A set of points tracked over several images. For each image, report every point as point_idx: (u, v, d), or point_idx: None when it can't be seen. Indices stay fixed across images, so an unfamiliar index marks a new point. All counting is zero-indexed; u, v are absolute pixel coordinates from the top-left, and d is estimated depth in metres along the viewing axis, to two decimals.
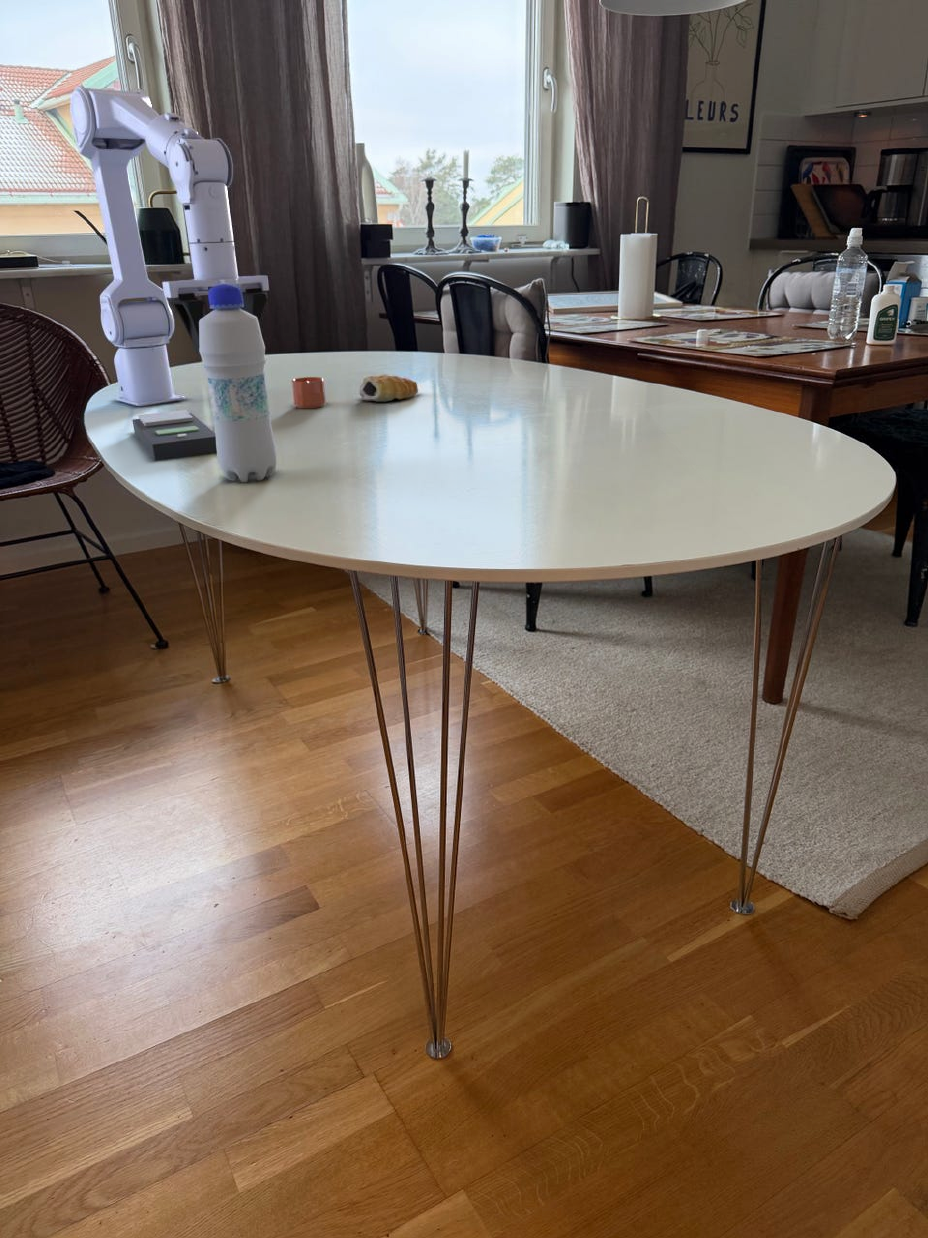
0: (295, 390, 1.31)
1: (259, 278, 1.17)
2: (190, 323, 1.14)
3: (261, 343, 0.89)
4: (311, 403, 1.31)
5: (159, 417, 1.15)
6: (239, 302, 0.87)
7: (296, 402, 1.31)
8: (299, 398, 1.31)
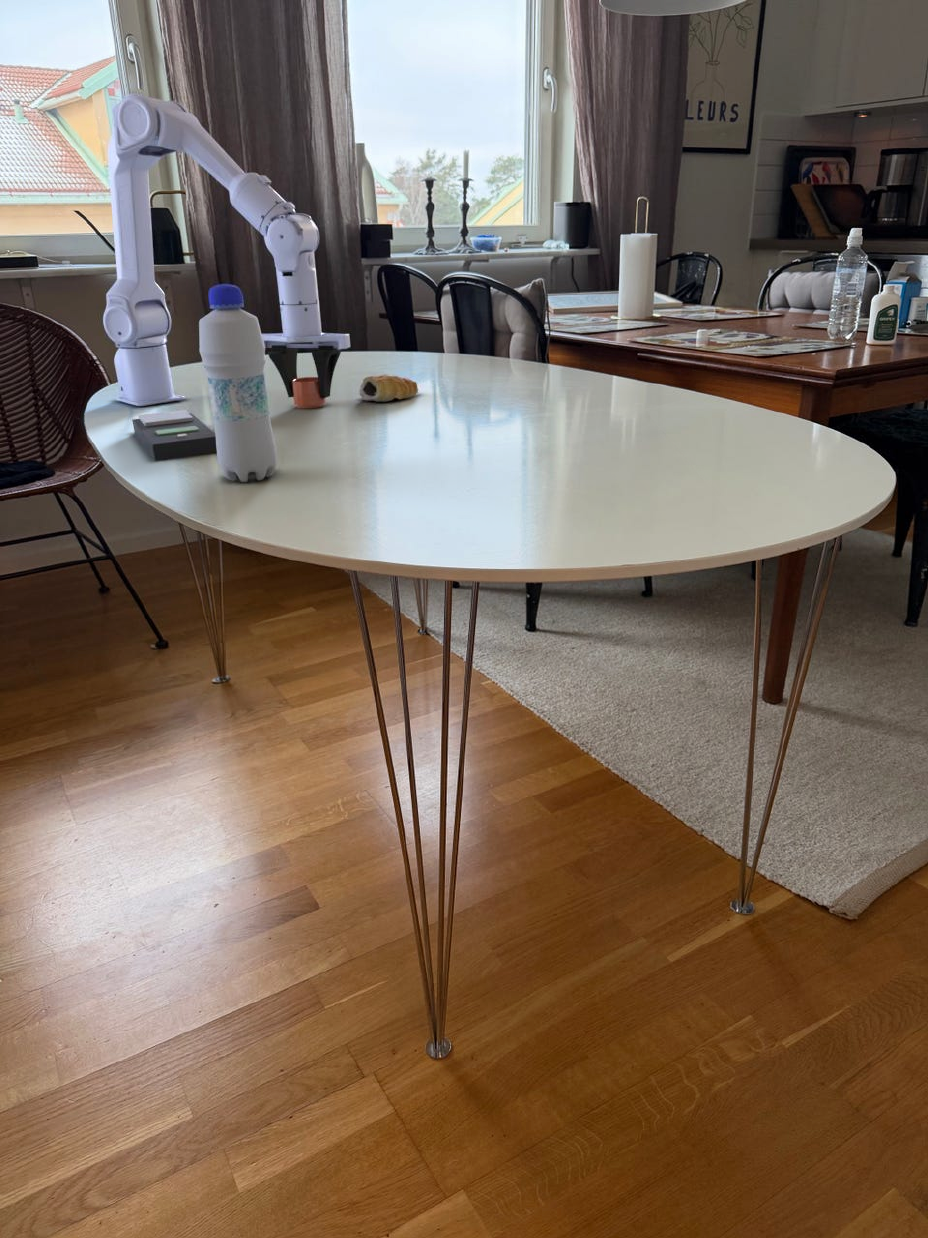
0: (295, 390, 1.31)
1: (334, 337, 1.26)
2: None
3: (261, 343, 0.89)
4: (311, 403, 1.31)
5: (159, 417, 1.15)
6: (239, 302, 0.87)
7: (296, 402, 1.31)
8: (299, 398, 1.31)
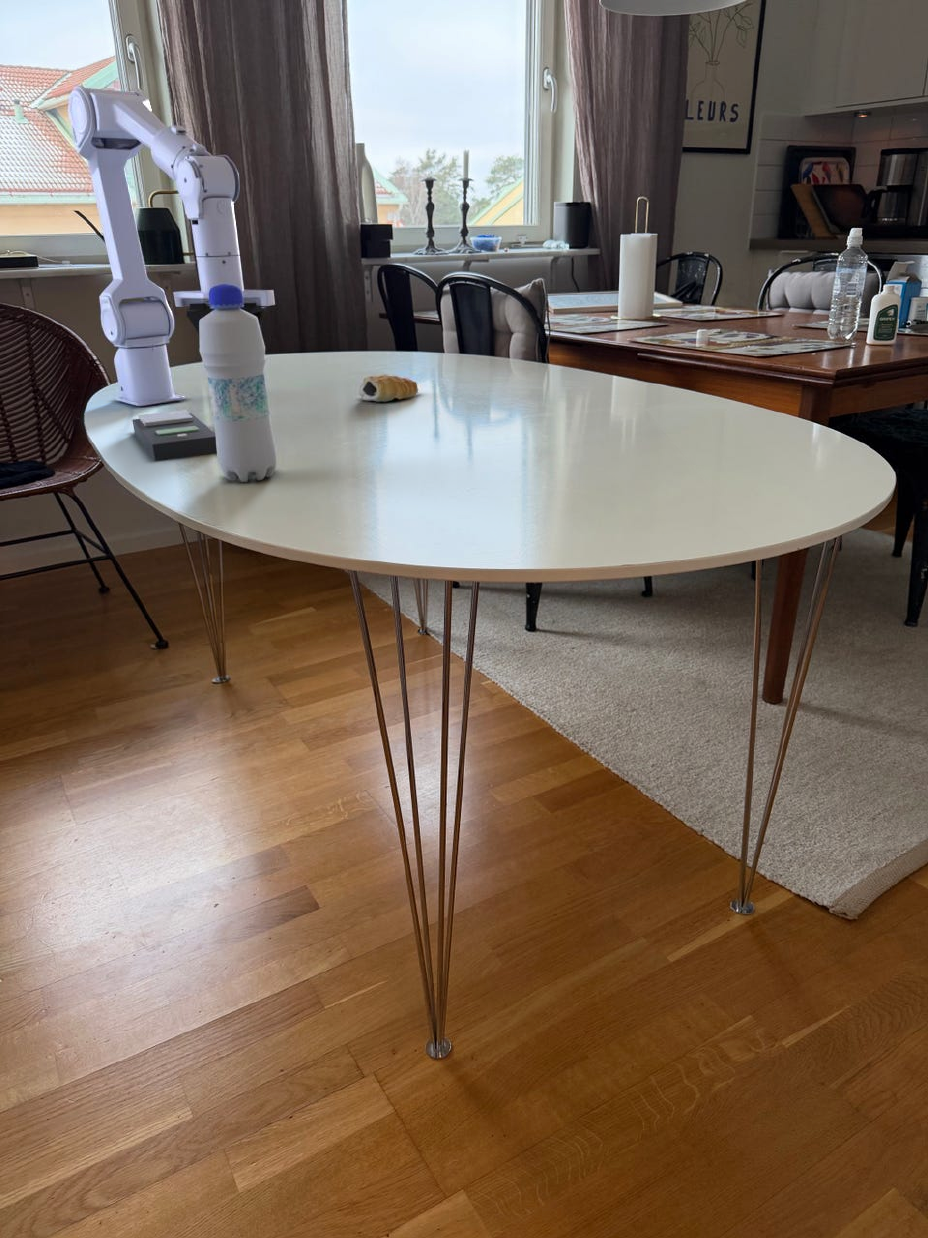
0: None
1: (256, 293, 1.15)
2: None
3: (261, 343, 0.89)
4: None
5: (159, 417, 1.15)
6: (239, 302, 0.87)
7: None
8: None
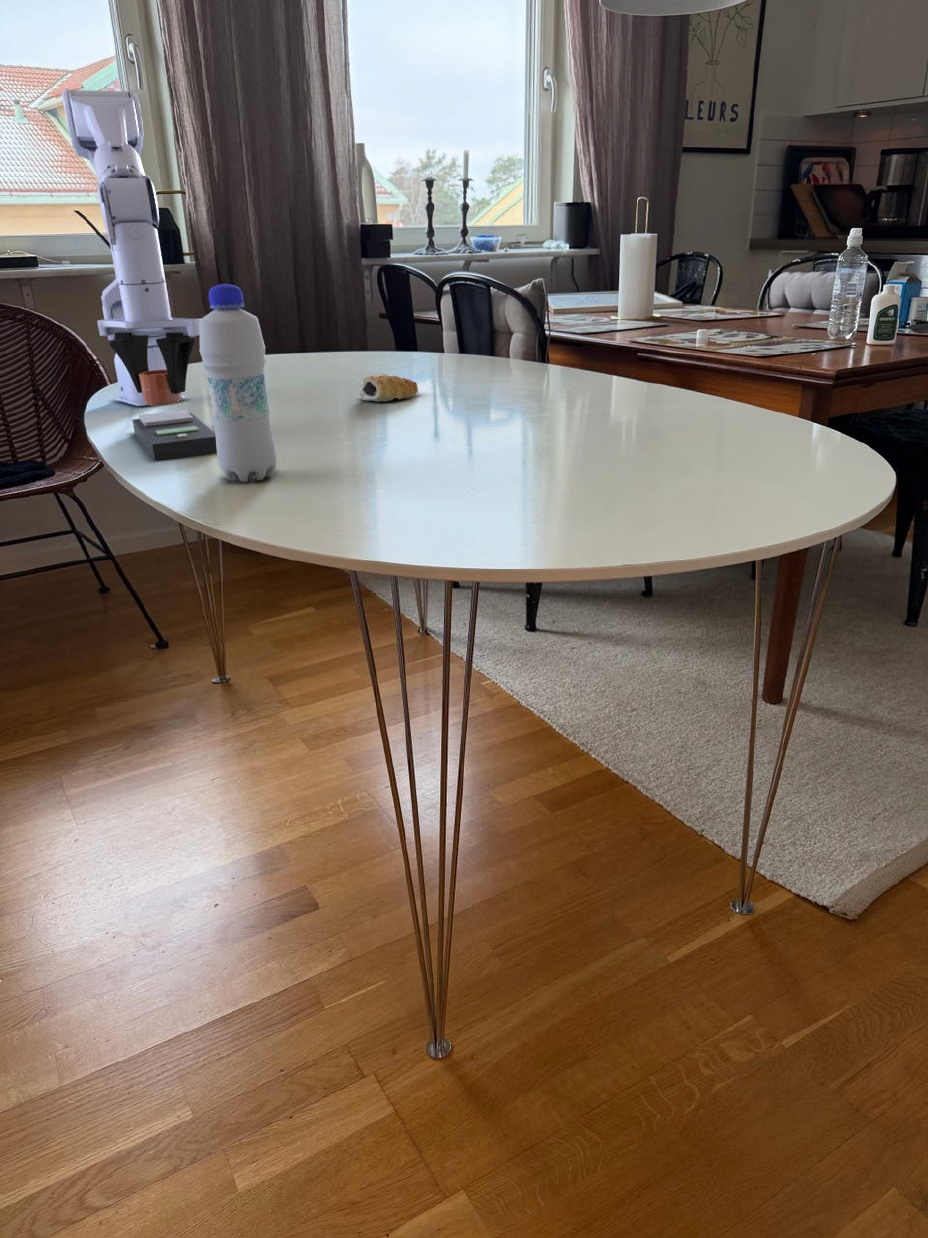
0: (142, 384, 1.12)
1: (182, 322, 1.08)
2: None
3: (261, 343, 0.89)
4: (161, 399, 1.13)
5: (159, 417, 1.15)
6: (239, 302, 0.87)
7: (144, 398, 1.13)
8: (147, 394, 1.12)
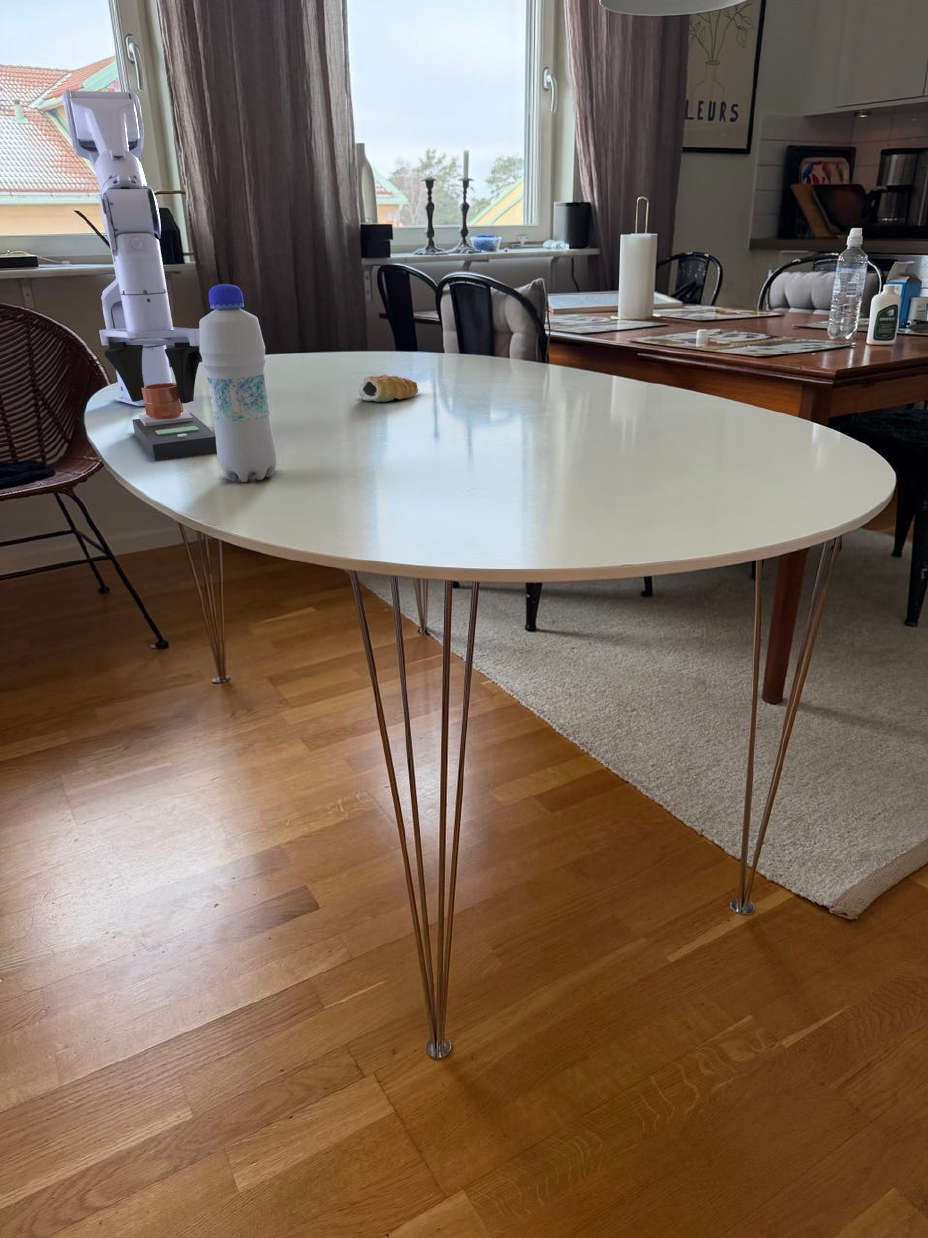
0: (145, 398, 1.13)
1: (184, 333, 1.09)
2: None
3: (261, 343, 0.89)
4: (163, 413, 1.13)
5: None
6: (239, 302, 0.87)
7: (147, 412, 1.14)
8: (149, 408, 1.13)
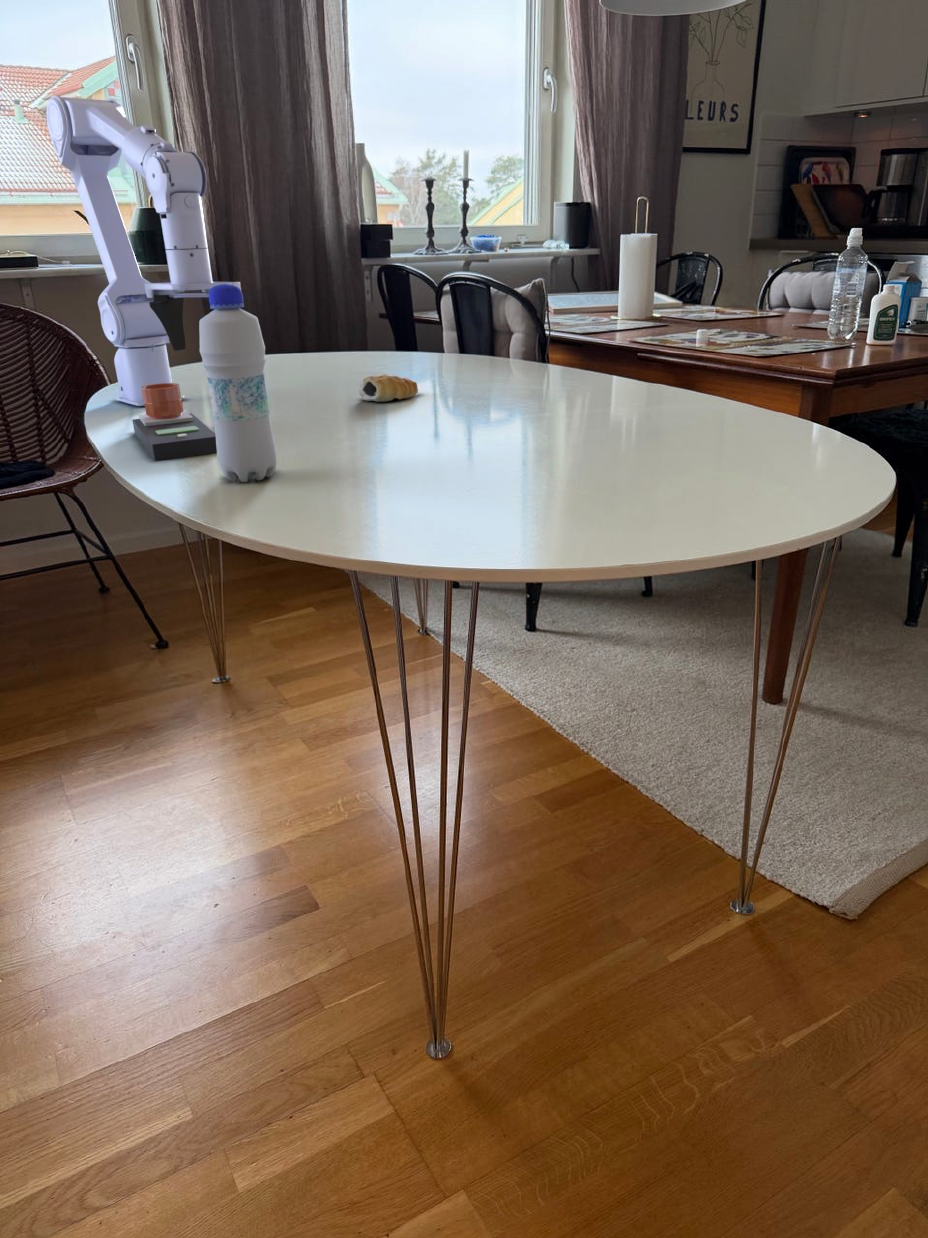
0: (145, 398, 1.13)
1: None
2: None
3: (261, 343, 0.89)
4: (163, 413, 1.13)
5: None
6: (239, 302, 0.87)
7: (147, 412, 1.14)
8: (149, 408, 1.13)
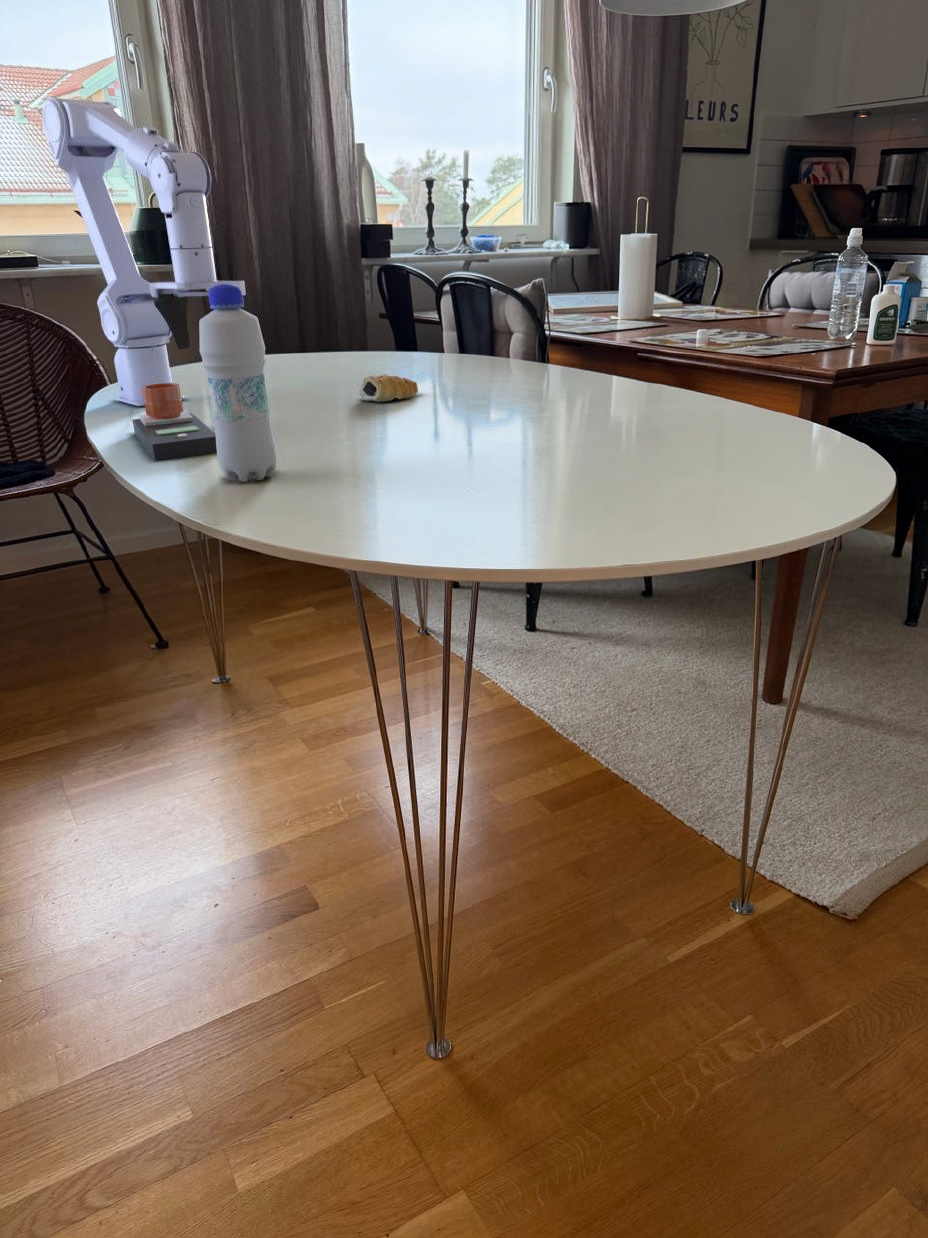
0: (145, 398, 1.13)
1: None
2: None
3: (261, 343, 0.89)
4: (163, 413, 1.13)
5: None
6: (239, 302, 0.87)
7: (147, 412, 1.14)
8: (149, 408, 1.13)
